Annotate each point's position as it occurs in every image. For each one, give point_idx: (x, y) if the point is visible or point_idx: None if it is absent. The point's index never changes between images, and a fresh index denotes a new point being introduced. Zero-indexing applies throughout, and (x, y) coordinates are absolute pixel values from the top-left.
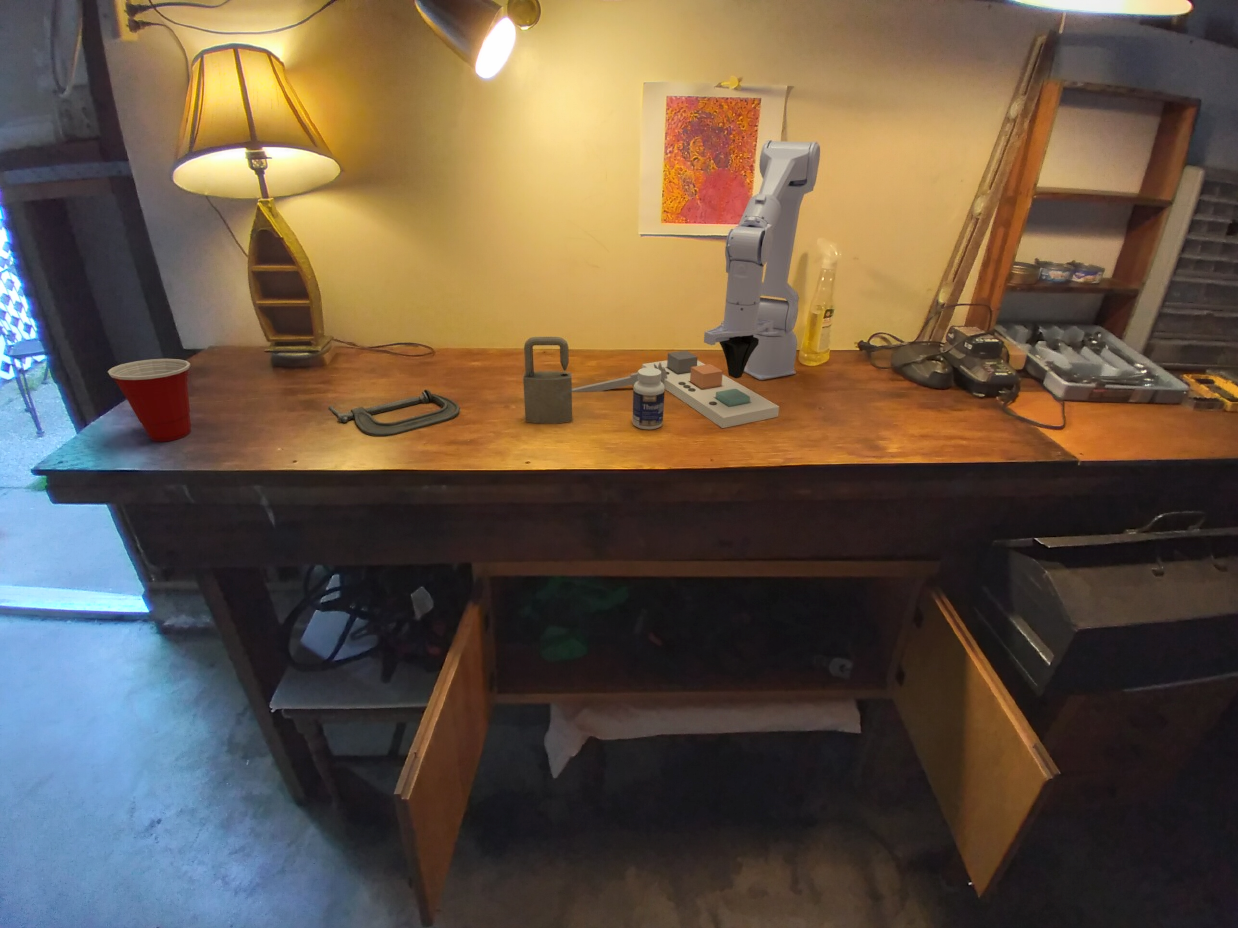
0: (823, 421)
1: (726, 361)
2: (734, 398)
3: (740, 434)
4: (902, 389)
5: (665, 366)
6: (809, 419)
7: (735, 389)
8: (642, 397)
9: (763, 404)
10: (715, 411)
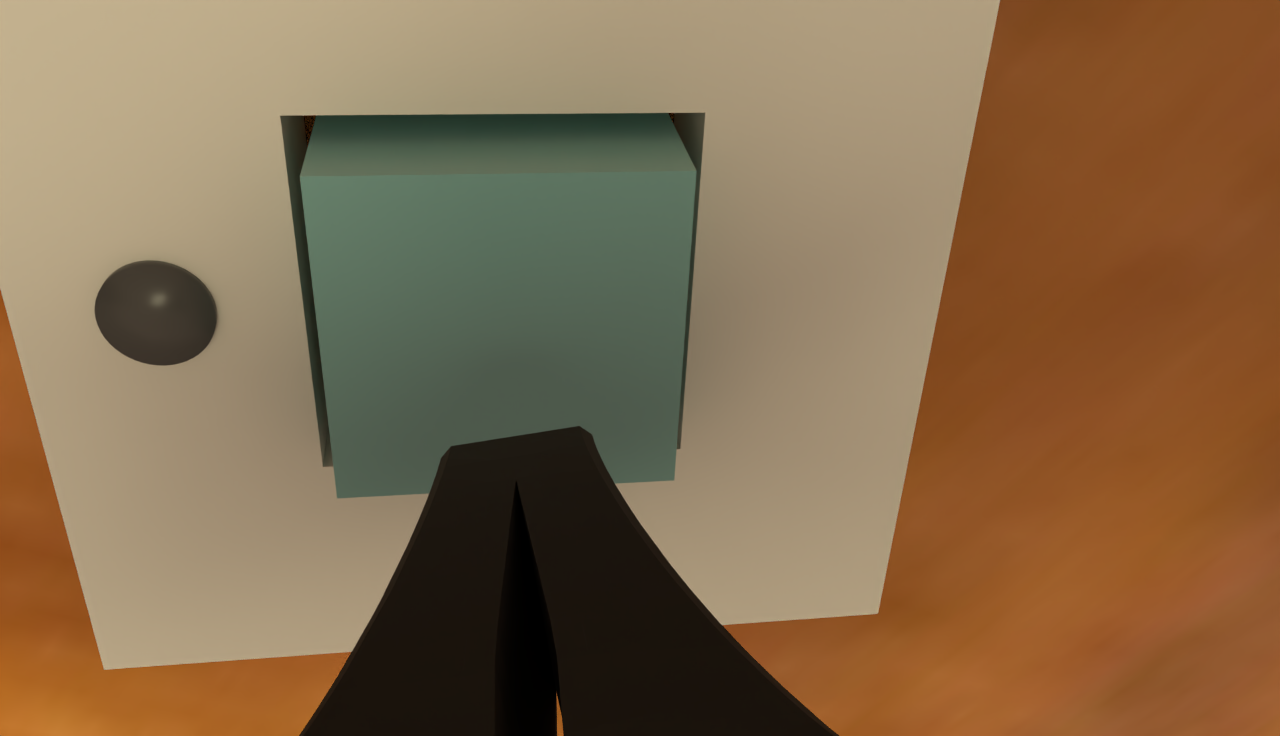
0: (1100, 701)
1: (373, 620)
2: (436, 468)
3: (253, 710)
4: None
5: None
6: (1041, 647)
7: (661, 205)
8: None
9: (769, 527)
10: (82, 514)
